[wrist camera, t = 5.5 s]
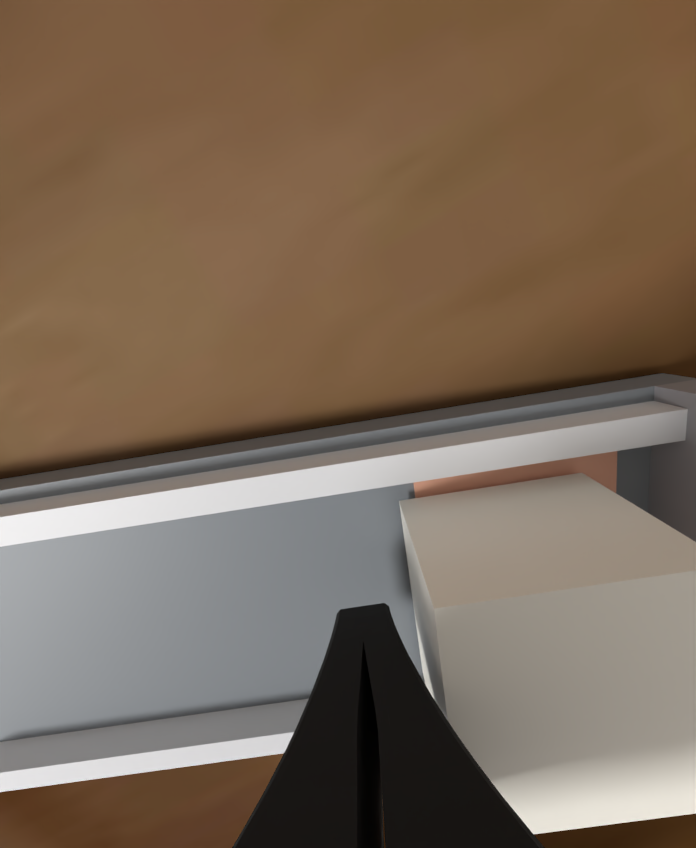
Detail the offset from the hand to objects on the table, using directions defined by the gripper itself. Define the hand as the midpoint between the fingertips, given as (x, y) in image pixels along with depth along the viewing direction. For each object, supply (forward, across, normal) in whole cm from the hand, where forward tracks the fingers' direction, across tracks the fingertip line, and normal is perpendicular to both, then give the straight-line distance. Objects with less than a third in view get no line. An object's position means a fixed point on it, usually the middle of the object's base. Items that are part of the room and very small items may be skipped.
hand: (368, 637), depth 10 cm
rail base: (+3, +2, 0) cm, 4 cm away
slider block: (+1, -4, 0) cm, 4 cm away
